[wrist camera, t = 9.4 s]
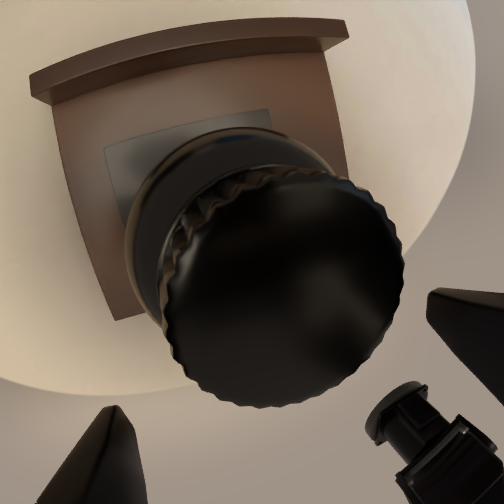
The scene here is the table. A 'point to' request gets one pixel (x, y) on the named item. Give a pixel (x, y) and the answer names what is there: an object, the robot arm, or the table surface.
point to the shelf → (180, 113)
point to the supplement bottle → (262, 266)
